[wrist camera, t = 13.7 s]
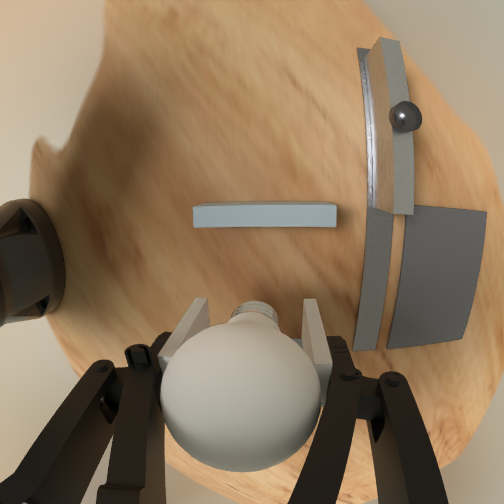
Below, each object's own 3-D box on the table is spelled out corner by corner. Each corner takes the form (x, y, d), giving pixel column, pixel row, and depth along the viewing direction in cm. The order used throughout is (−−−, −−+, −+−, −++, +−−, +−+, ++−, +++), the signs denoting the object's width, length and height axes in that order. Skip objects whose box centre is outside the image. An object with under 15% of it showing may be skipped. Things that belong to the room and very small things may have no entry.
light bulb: (325, 292, 17) (372, 432, 6) (278, 368, 19) (272, 505, 8) (227, 248, 17) (152, 359, 6) (192, 332, 19) (126, 458, 8)
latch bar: (370, 206, 21) (397, 216, 15) (361, 59, 18) (381, 29, 12) (391, 207, 21) (423, 217, 15) (382, 62, 17) (407, 35, 12)
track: (352, 349, 25) (352, 351, 24) (356, 48, 18) (357, 47, 17) (374, 348, 24) (375, 349, 24) (381, 52, 17) (382, 51, 17)
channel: (216, 348, 26) (208, 369, 23) (205, 202, 23) (192, 206, 19) (319, 351, 25) (323, 373, 22) (328, 201, 22) (336, 205, 18)
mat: (386, 347, 24) (387, 349, 24) (405, 204, 21) (407, 205, 20) (461, 337, 23) (462, 338, 23) (485, 211, 20) (486, 212, 19)
